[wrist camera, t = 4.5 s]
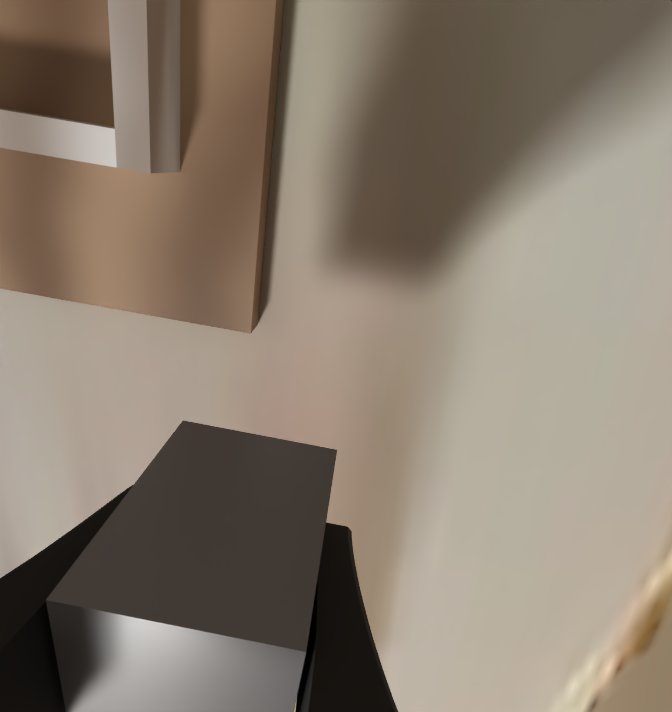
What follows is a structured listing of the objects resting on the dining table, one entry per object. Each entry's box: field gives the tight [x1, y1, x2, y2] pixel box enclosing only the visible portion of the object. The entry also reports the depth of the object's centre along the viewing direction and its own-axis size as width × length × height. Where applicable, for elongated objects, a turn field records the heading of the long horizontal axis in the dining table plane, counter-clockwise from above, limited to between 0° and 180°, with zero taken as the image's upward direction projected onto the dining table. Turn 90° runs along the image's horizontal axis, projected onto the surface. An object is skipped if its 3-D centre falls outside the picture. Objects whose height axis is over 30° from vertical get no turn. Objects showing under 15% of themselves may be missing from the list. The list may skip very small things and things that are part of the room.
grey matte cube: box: [46, 421, 337, 712], centre depth 10 cm, size 4×4×5 cm
